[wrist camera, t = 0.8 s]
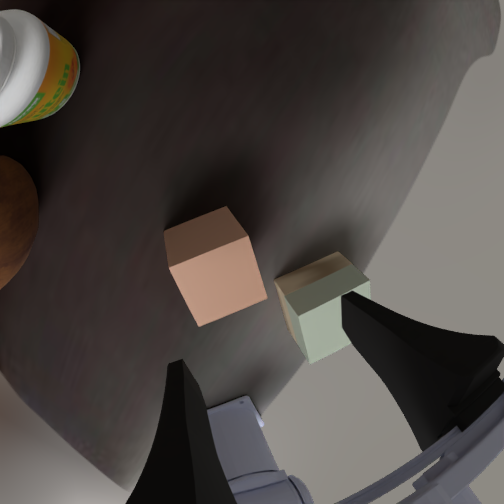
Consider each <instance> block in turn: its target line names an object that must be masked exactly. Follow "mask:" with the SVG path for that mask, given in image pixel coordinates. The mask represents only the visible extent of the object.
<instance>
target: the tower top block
mask: <svg viewBox="0 0 504 504" xmlns="http://www.w3.org/2000/svg"><path fill="white" fill-rule="evenodd" d="M350 291H354V292H356V293H358V294H360V295H362V296H364V297H366V298H368V299H370V300H371V294H370V293H371V292H370V280H369V279H368V278H367V277H366V276H365V275H364V274H363V273H362V272H360V271H359V270H358V269H357V268H356V267H355V266H354V265H353V264H350V265H348V266H346V267H344V268H342V269H340V270H338V271H336V272H334V273H332V274H330V275H328V276H326V277H324V278H322V279H320V280H318V281H315V282H313V283H311V284H309V285H307V286H305V287H303V288H301V289H298V290H296V291H294V292H292V293H290V294H288V295H285V296H284V298H285V301H286V305H287V308H288V312H289V315H290V319H291V322H292V326H293V330H294V333H295V337H296V340H297V344H298V346H299V348H300V349H301V351H302V353H303V354H304V356H305V357H306V359H307V361H308V362H309V364H310V365H311V364H313V363H315V362H317V361H319V360H321V359H323V358H325V357H327V356H329V355H331V354H332V353H334V352H336V351H338V350H340V349H342V348H344V347H346V346H347V345H349V344H351V341H350V340H349V338H348V337H347V335H346V333H345V332H344V330H343V329H342V316H341V295H344V294H346V293H348V292H350Z"/></svg>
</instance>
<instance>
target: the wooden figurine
mask: <svg viewBox="0 0 504 504" xmlns="http://www.w3.org/2000/svg"><path fill="white" fill-rule="evenodd" d="M38 225H39V201H38V195H37V190H36V187H35V184H34V182H33V180H32V178H31V176H30V175H29V173H28V172H27V171H26V169H25V168H24V167H23V166H22V165H21V164H20V163H18V162H17V161H15V160H13V159H12V158H10V157H7V156H0V289H1V288H2V287H3V286H5V285H6V284H7V283H8V282H9V281H10V280H11V279H12V277H13V276H14V275H15V274H16V273H17V272H18V271H19V269H20V268H21V267H22V265H23V264H24V262H25V260H26V259H27V257H28V255H29V253H30V250H31V247H32V244H33V242H34V239H35V237H36V233H37V230H38Z"/></svg>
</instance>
